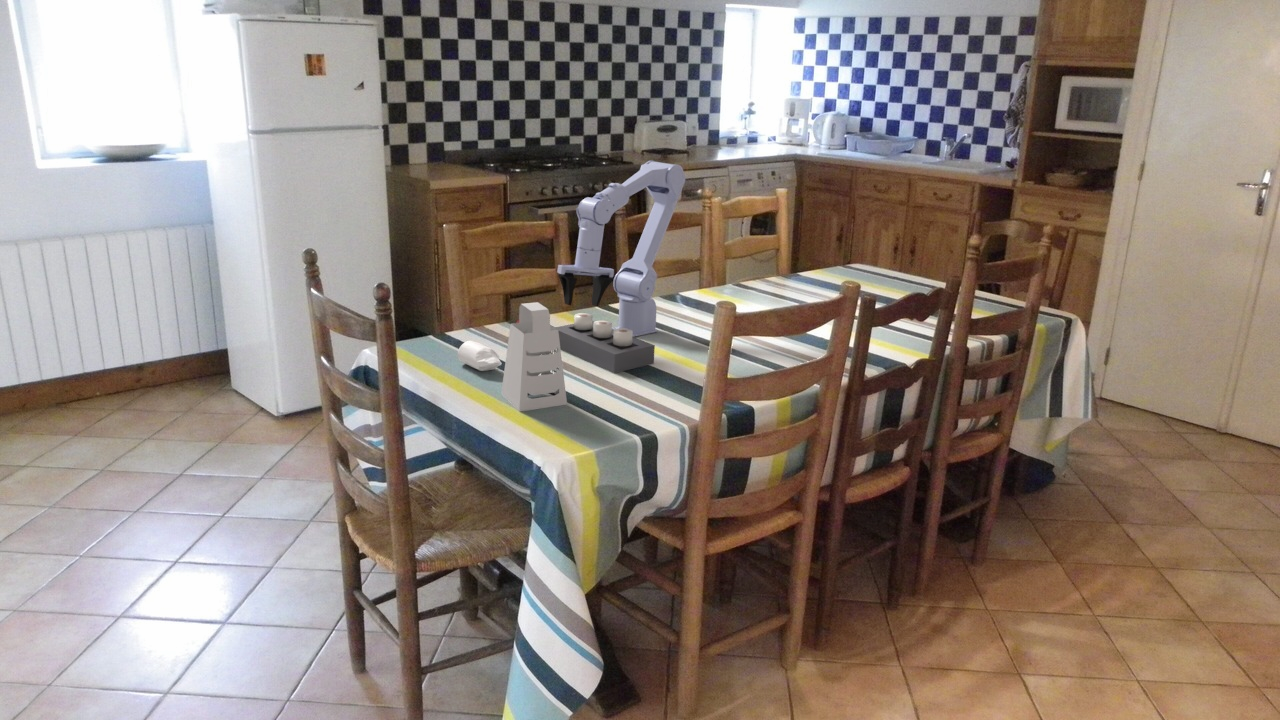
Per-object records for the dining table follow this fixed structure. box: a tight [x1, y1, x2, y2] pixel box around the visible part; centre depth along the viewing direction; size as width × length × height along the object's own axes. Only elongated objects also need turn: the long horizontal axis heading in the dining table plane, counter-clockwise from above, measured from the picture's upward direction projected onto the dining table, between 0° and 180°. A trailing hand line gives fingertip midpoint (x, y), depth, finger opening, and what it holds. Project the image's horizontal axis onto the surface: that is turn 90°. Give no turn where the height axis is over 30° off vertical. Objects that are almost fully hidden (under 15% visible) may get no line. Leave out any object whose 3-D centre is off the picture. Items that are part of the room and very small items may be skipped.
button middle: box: [593, 320, 613, 338], centre depth 223 cm, size 4×4×3 cm
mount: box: [554, 320, 656, 374], centre depth 224 cm, size 12×24×4 cm, turn 41°
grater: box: [500, 301, 568, 412], centre depth 192 cm, size 10×10×20 cm
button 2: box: [613, 328, 633, 346], centre depth 217 cm, size 4×4×3 cm
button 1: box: [573, 312, 594, 330], centre depth 228 cm, size 4×4×3 cm
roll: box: [457, 340, 503, 372], centre depth 210 cm, size 6×12×6 cm, turn 41°
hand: (581, 304), depth 226 cm, fingers open, 7 cm apart
